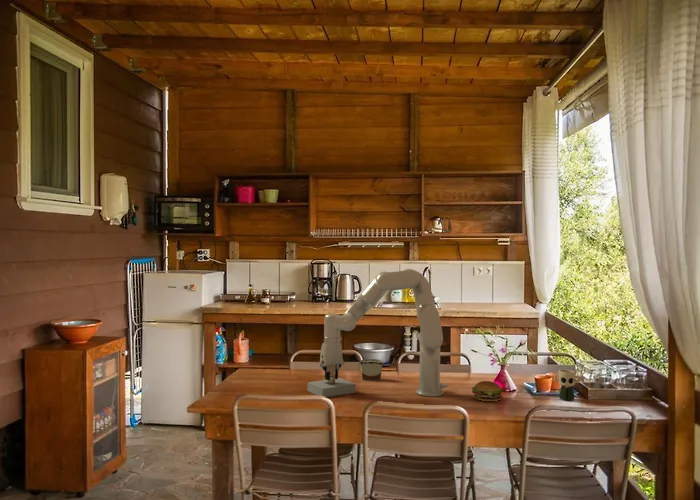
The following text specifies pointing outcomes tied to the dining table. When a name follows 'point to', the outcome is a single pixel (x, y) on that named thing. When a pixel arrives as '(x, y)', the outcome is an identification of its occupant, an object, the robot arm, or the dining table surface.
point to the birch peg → (331, 375)
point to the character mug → (566, 383)
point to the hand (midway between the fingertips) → (331, 378)
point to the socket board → (331, 387)
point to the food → (487, 391)
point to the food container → (371, 369)
